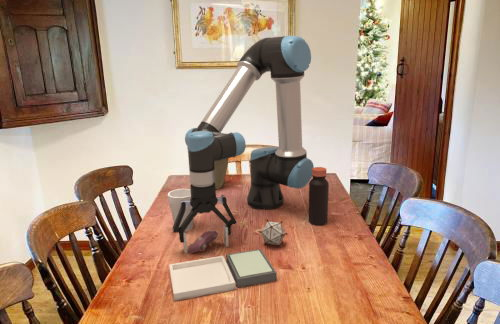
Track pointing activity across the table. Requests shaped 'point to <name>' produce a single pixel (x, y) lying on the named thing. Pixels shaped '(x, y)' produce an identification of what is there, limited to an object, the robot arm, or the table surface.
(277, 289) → the table surface
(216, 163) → the plant pot
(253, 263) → the pale green flat panel
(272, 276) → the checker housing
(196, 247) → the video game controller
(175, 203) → the foam cup
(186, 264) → the tray
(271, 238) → the game die
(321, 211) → the bottle
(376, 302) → the table surface
